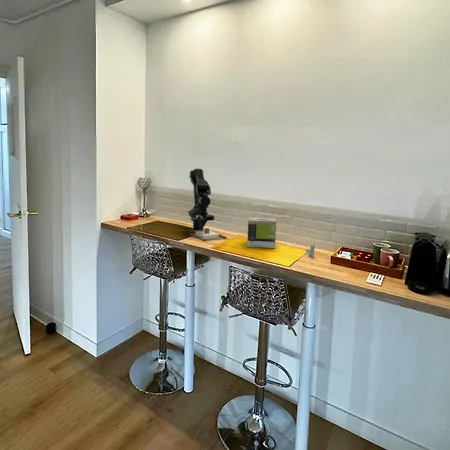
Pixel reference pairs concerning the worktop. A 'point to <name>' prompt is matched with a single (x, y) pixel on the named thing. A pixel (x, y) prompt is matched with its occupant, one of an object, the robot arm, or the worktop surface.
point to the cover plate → (207, 234)
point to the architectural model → (311, 251)
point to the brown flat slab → (209, 238)
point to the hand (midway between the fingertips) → (201, 229)
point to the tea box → (261, 232)
